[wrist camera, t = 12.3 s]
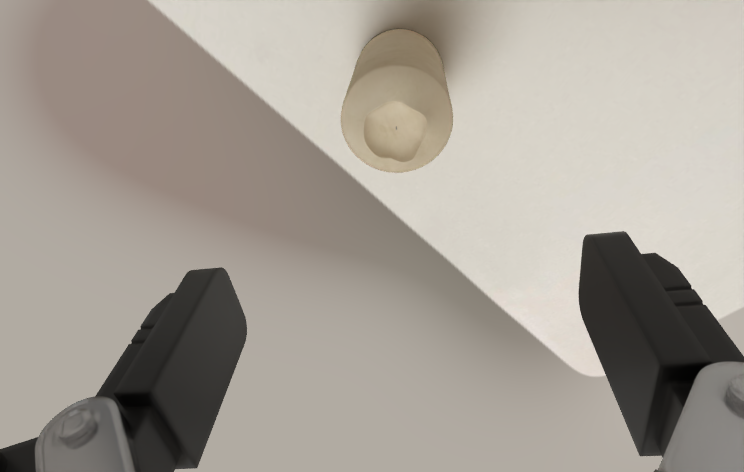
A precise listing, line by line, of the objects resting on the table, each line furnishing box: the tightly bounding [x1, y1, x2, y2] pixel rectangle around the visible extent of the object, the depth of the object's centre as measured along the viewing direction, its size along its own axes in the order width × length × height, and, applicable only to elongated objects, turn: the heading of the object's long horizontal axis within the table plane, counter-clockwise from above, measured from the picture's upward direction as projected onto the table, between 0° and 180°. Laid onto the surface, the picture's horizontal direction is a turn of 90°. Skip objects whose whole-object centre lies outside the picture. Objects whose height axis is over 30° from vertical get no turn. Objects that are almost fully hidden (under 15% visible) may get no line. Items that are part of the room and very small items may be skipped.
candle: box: [341, 29, 453, 173], centre depth 27 cm, size 6×6×10 cm
